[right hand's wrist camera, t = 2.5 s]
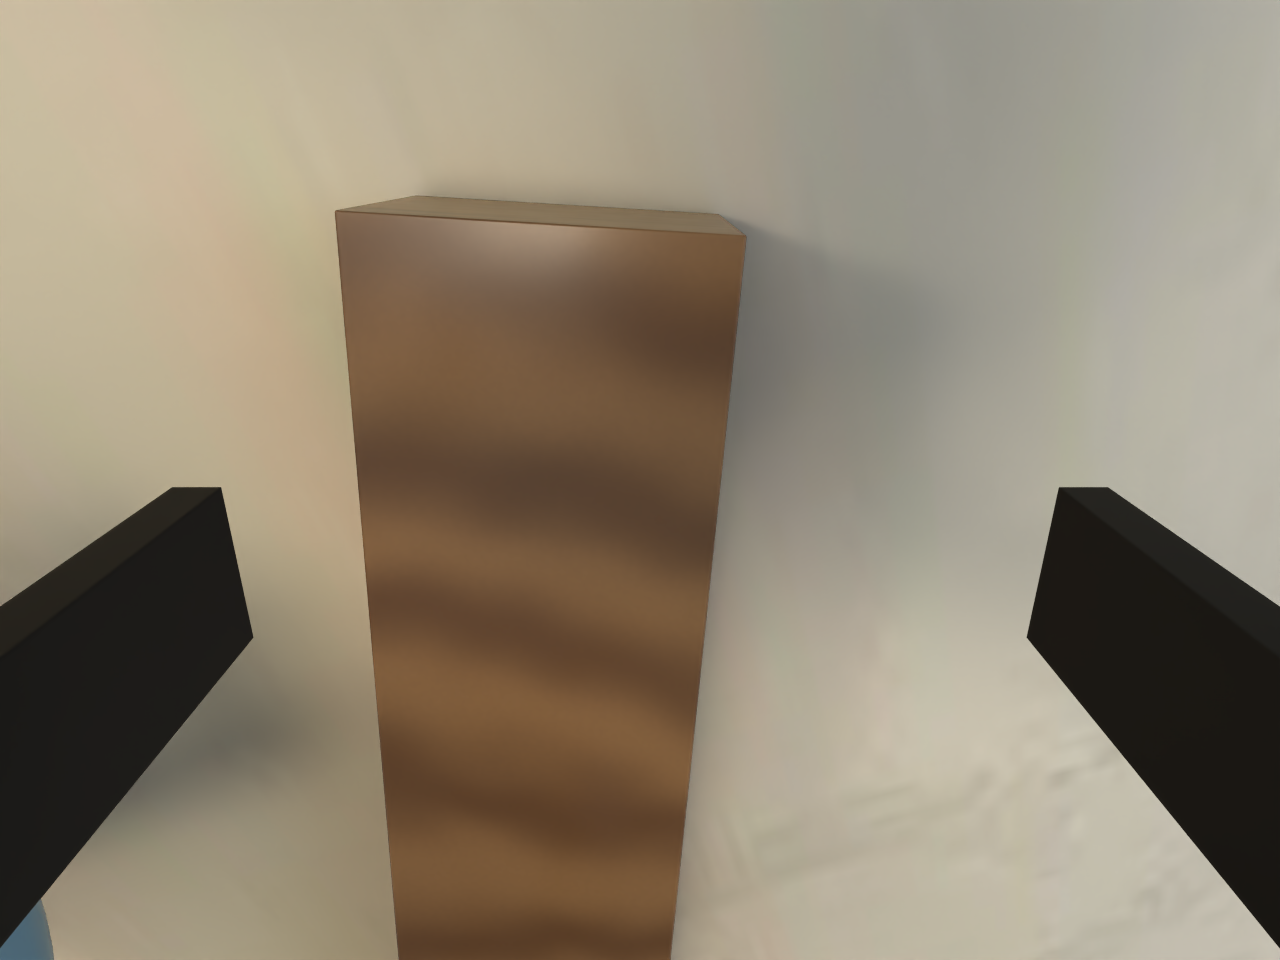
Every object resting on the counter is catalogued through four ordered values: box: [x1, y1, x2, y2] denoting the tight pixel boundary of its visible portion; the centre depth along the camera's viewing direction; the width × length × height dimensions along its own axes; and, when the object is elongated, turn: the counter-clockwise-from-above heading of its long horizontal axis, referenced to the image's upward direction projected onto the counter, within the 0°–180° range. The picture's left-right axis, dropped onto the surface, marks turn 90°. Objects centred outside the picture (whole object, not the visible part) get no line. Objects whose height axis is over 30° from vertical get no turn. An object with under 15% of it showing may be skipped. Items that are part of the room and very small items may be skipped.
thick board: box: [335, 196, 747, 960], centre depth 32 cm, size 57×10×7 cm, turn 177°
